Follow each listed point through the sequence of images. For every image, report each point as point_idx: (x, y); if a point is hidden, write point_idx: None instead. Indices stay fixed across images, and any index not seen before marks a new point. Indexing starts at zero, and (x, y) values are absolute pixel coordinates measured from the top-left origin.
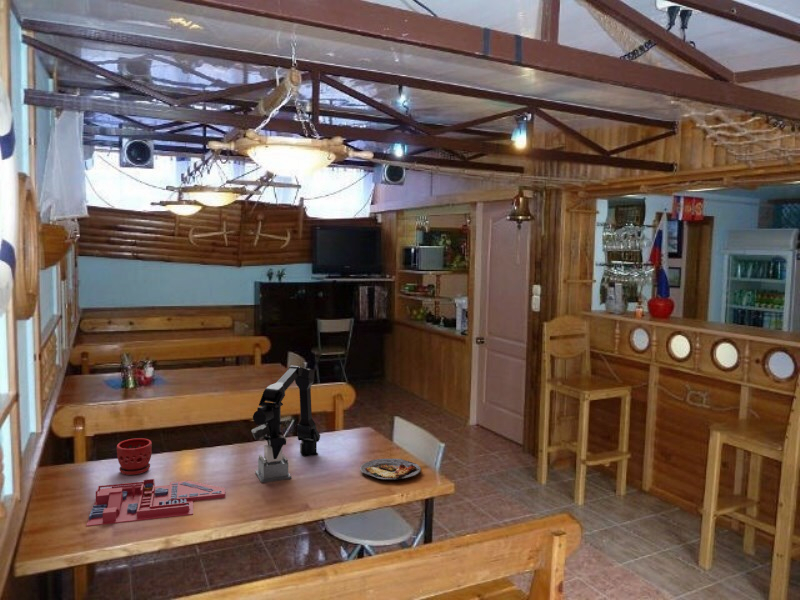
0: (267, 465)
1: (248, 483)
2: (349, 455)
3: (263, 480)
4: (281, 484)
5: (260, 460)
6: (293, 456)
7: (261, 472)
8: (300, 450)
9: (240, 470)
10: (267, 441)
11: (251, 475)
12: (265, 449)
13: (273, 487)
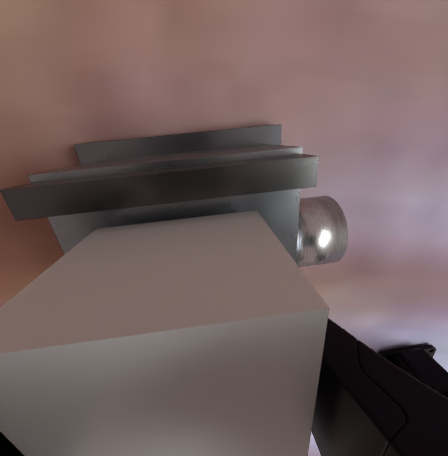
0: (54, 217)
1: (76, 44)
2: (313, 444)
3: (79, 159)
4: (56, 251)
5: (217, 162)
6: (403, 320)
7: (152, 156)
8: (425, 357)
9: (361, 13)
10: (427, 452)
11: (234, 91)
12: (192, 286)
13: (5, 207)
